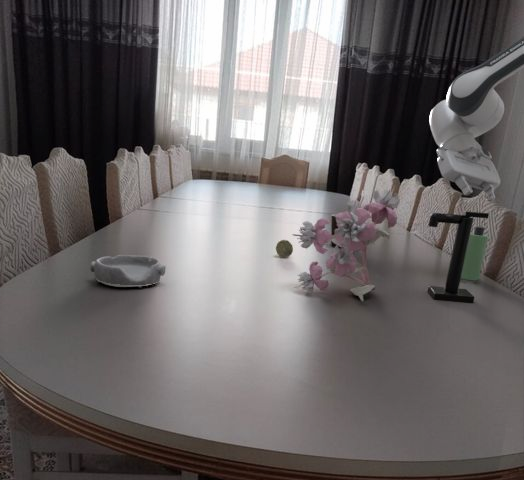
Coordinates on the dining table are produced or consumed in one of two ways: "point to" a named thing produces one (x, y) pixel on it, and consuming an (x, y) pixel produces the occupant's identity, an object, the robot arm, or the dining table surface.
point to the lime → (284, 248)
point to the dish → (128, 270)
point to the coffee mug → (333, 228)
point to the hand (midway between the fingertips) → (480, 196)
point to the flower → (348, 241)
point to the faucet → (455, 256)
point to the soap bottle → (474, 254)
